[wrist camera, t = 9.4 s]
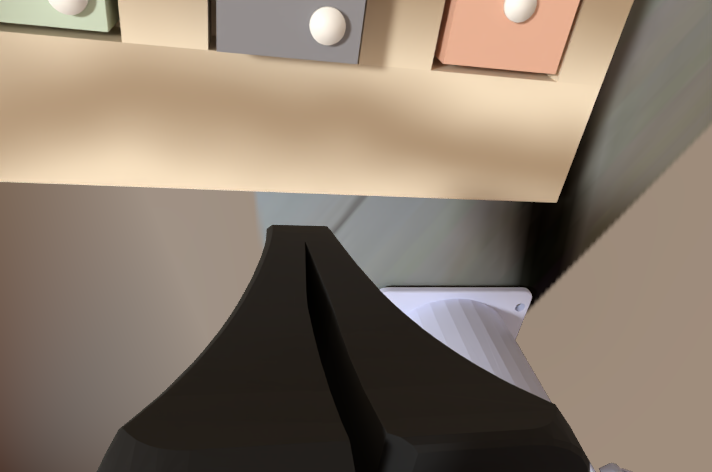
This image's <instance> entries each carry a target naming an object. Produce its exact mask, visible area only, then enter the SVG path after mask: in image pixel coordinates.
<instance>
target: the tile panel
mask: <svg viewBox="0 0 712 472" xmlns="http://www.w3.org/2000/svg"><path fill="white" fill-rule="evenodd" d="M633 1H634V0H580V1H579V4H578V7H577V10H576V13H575V16H574V19H573V23H572V26H571V29H570V32H569V35H568V38H567V41H566V44H565V47H564V50H563V53H562V56H561V59H560V62H559V65H558V68H557V71H556V74H547V73H536V72H526V71H515V70H505V69H494V68H483V67H473V66H462V65H452V64H443V63H442V62H441V61H440V60H439V59H438V58H437V57H436V56H435V55H434V53H435V48H436V43H437V38H438V33H439V29H440V24H441V19H442V14H443V9H444V4H445V0H366V2H365V10H364V17H363V25H362V32H361V40H360V47H359V55H358V62H357V64H348V63H337V62H326V61H315V60H304V59H293V58H282V57H271V56H260V55H249V54H238V53H227V52H217V40H216V0H118V7H119V17H120V20H119V21H118V22H117V23H116V24H115V25H114V26H113V27H112V28H111V30H110V31H109V32H101V31H91V30H80V29H69V28H59V27H48V26H38V25H27V24H16V23H6V22H0V182H24V183H50V184H51V183H52V184H77V185H104V186H130V187H132V186H133V187H156V188H184V189H210V190H236V191H262V192H289V193H315V194H341V195H368V196H394V197H421V198H447V199H474V200H500V201H527V202H553V203H557V200H558V198H559V195H560V192H561V190H562V187H563V185H564V182H565V179H566V177H567V174H568V171H569V169H570V166H571V164H572V161H573V158H574V156H575V153H576V150H577V148H578V145H579V143H580V140H581V137H582V135H583V132H584V130H585V127H586V124H587V122H588V119H589V116H590V114H591V111H592V109H593V106H594V103H595V101H596V98H597V95H598V93H599V90H600V88H601V85H602V82H603V80H604V77H605V75H606V72H607V69H608V67H609V64H610V61H611V59H612V56H613V54H614V51H615V48H616V46H617V43H618V40H619V38H620V35H621V33H622V30H623V27H624V25H625V22H626V20H627V17H628V14H629V12H630V9H631V6H632V4H633Z"/></svg>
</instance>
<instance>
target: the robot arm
mask: <svg viewBox="0 0 712 472" xmlns="http://www.w3.org/2000/svg"><path fill="white" fill-rule="evenodd" d="M531 300H532V294H531V292H530V291H529V290H528V289H527V288H523V287H386V288H382V289H380V290H379V289H378V288H377V286H376V285H375V284H374V283H373V282H372V281H371V280H370V279H369V278H368V276H367V275H366V274H365V273H364V272H363V271H362V270H361V268H360V267H359V266H358V265H357V264H356V263H355V261H354V260H353V259H352V258H351V256H350V255H349V254H348V253H347V251H346V250H345V249H344V247H343V246H342V245H341V243H340V242H339V241H338V240H337V238H336V237H335V235H334V234H333V233H332V231H331V230H330V229H329V228H328V227H327V226H294V225H272V226H270V227H269V228H268V229H267V234H266V243H265V247H264V250H263V253H262V256H261V258H260V261H259V263H258V266H257V268H256V270H255V272H254V275H253V277H252V279H251V281H250V283H249V285H248V287H247V288H246V290H245V292H244V294H243V295H242V297H241V299H240V301H239V303H238V304H237V306H236V307H235V309H234V311H233V312H232V314H231V315H230V317H229V318H228V320H227V321H226V322H225V324H224V325H223V327H222V328H221V330H220V331H219V332H218V334H217V335H216V336H215V337H214V338H213V340H212V341H211V342H210V344H209V345H208V346H207V347H206V348H205V350H204V351H203V352H202V353H201V354H200V355H199V357H198V358H197V359H196V360H195V361H194V362H193V363H192V364H191V365H190V366H189V367H188V368H187V369H186V370H185V371H184V372H183V373H182V374H181V375H180V376H179V377H178V378H177V379H176V380H175V381H174V382H173V383H172V385H170V386H169V387H168V388H167V389H166V390H165V391H164V392H163V393H162V394H161V395H160V396H159V397H158V398H157V399H155V400H154V401H153V402H152V403H150V404H149V405H148V406H147V407H146V408H144V409H143V410H142V411H141V412H140V413H138V414H137V415H136V416H135V417H133V418H132V419H131V420H130V421H129V422H127V423H126V424H125V425H124V426H122V427H121V428H120V429H119V430H118V432H117V434H116V435H115V437H114V439H113V441H112V443H111V445H110V447H109V449H108V450H107V452H106V454H105V456H104V458H103V460H102V462H101V464H100V466H99V468H98V470H97V472H595V470H594V468H593V466H592V465H591V463H590V461H589V460H588V458H587V456H586V455H585V453H584V451H583V449H582V447H581V446H580V444H579V442H578V440H577V438H576V437H575V435H574V433H573V431H572V429H571V428H570V426H569V424H568V423H567V421H566V420H565V419H564V417H563V415H562V414H561V412H560V411H559V409H558V408H557V407H556V405H555V404H553V403H552V402H551V401H550V399H549V397H548V396H547V394H546V392H545V390H544V389H543V387H542V386H541V383H540V382H539V380H538V379H537V377H536V375H535V373H534V372H533V370H532V368H531V366H530V365H529V363H528V361H527V359H526V358H525V356H524V354H523V352H522V351H521V349H520V347H519V346H518V344H517V342H516V341H515V340H516V337H517V335H518V332H519V330H520V327H521V325H522V322H523V320H524V317H525V315H526V312H527V310H528V307H529V305H530V302H531ZM518 304H520V305H518ZM516 305H518V306H516ZM599 470H600V472H631V471H629V470H626V469H621V468H620V467H619V466H618V465H617V464H614V463H609V464H607V465H605V466H603V467H601V468H599Z"/></svg>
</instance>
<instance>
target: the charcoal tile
mask: <svg viewBox="0 0 712 472" xmlns="http://www.w3.org/2000/svg"><path fill="white" fill-rule="evenodd" d="M365 2H366V0H216V40H217V52H227V53H238V54H249V55H260V56H271V57H282V58H293V59H304V60H315V61H326V62H337V63H348V64H357V62H358V55H359V47H360V40H361V32H362V25H363V17H364V10H365Z"/></svg>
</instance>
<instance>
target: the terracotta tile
mask: <svg viewBox="0 0 712 472" xmlns="http://www.w3.org/2000/svg"><path fill="white" fill-rule="evenodd" d="M579 1H580V0H445V4H444V9H443V14H442V19H441V24H440V29H439V33H438V38H437V43H436V48H435V53H434V55H435V56H436V57H437V58H438V59H439V60H440V61H441V62H442V63H443V64H452V65H462V66H473V67H483V68H494V69H505V70H515V71H526V72H536V73H547V74H556V71H557V68H558V65H559V62H560V59H561V56H562V53H563V50H564V47H565V44H566V41H567V38H568V35H569V32H570V29H571V26H572V23H573V19H574V16H575V13H576V10H577V7H578V4H579Z"/></svg>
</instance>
